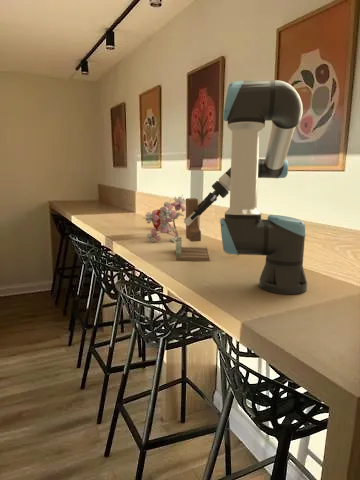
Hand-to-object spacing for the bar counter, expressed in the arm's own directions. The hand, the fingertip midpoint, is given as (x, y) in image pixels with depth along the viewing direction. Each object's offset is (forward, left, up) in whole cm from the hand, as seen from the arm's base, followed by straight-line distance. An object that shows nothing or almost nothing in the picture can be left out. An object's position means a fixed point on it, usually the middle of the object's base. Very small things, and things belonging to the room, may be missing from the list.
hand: (185, 222), depth 169 cm
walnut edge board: (-4, -3, -14) cm, 15 cm away
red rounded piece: (+63, +16, -14) cm, 67 cm away
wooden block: (-2, -3, -7) cm, 8 cm away
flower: (+26, +12, -14) cm, 32 cm away
